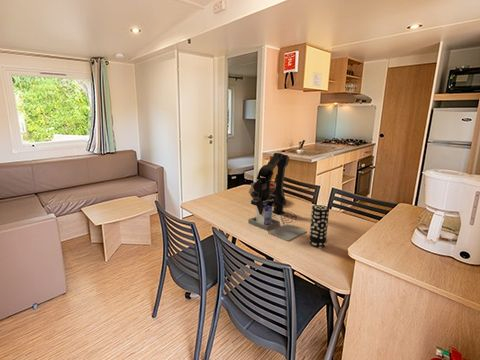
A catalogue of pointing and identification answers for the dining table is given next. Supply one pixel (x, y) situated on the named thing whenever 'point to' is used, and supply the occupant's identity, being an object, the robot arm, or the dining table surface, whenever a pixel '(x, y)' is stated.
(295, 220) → the dining table surface
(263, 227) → the grey rectangular frame
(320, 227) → the spotted tube
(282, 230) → the mat
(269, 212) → the ink cartridge box
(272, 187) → the dark brown bowl
